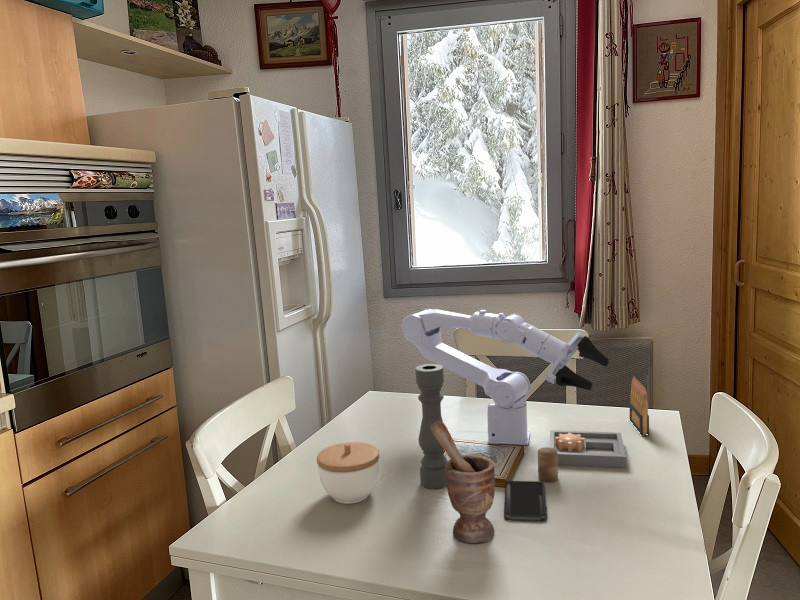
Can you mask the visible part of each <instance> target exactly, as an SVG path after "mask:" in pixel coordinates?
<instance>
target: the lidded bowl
mask: <svg viewBox="0 0 800 600" xmlns="http://www.w3.org/2000/svg"><path fill="white" fill-rule="evenodd" d="M379 459H380V450H379V449H378V447H377V446H375V445H373V444H370V443H367V442H360V441H352V442H351V441H349V442H341V443H337V444H333V445H332V444H331V445H329V446H327V447H325V448H323V449H321V450H320V451H319V452H318V453H317V455H316V463H317V468H318V469H317V470H318V476H319V480H320V483H321V485H322V488H323V490H324V491H325V493H327V494H328V495H329V496H330V497H331V498H333V500H334V501H335V502H337V503H338V504H343V505H352V504H357V503H361V502H363V501H365V500H366V499H367V498H368V497H369V496H370V493H371V492H372V491H373V490H374V489H375V487H376V485H377V483H378V480H379V475H380V460H379Z"/></svg>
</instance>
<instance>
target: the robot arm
mask: <svg viewBox="0 0 800 600" xmlns="http://www.w3.org/2000/svg"><path fill="white" fill-rule="evenodd" d="M441 327H443V328H454V329H465V330H469V331H470V332H471V334H472V335H474V336H479V337H486V338H491V339H500V340H501V343H503V344H507V345H508V344H515V345H516V346H518V347H519V348H521V349H523V350H525V351H526V352H529V353H530V354H533V355H535V356H536V357H539V358H540V359H542V360H544V361H545V362H548V363H550V364H551V365H552V366H551V368H550V369H549V371H548V372H547V374H546V375H545V380H546V381H547V382H549V383H550V384H552V385H554V384H555V383H556V385H558V386H560V387H563V386H565V387H575V388H579V389H583V390H587V391H591V390H592V388H593V382H591V381H590V380H588V379H586V378H584V377H582V376H580V375H579V374H577V373H576V372H574V371H573V370H572V369H571V368H570V367H568V366H567V365H568V364H569V362H570V361H571V359H572V358H573V356H574V355H575V354H576V352H577V351H578V352H579V353H578V356H579V357H581V358H585V359H588V360H591V361H594V362H595V363H597V364H599V365H601V366H603V367H608V365H609V362H610V358H608V357H607V356H605V354H603V352H601V351H600V350H599V349H598V348H597V347H596V346H595V344H594V343H593V342H592V341H591V339H590V338H589V337H588V336H587V335H586V334H585V333H582V332H580V331H578V332H577V333H576V334H575V335H574V337H572V338H571V339H570V340H569V342H565V341H562V340H561V339H559V338H557V337H555V336H553V335H551V334H549V333H547V332H545V331H543V330H541V329H540V328H537V327H536V326H534V325H532V324H529V323H527V320H526V319H525V318H524V317H523V316H522V315H520V314H517V313H511V314H509V315H507V316H506V315H505V313H503V312H499V313H490V312H489V313H488V312H487V310H486V309H480V310H478V311H475V312H474V313H473V314H472V315H468V314H465V313H464V314H463V313H458V312H453V311H448V310H442V309H439V308H435V309H432V308H425V309H424V310H422V311H418V312H415V313H412V314H407V315H406V316H404V317H403V319H402V322H401V330H402V332H403V333H402V334H403V336H404V339H405V340H406V341H408V342H410V343H412V345H414V347H415V348H416V349H417V351H419V353H421V355H422V356H423V358H425V359H426V360H429V361H431V362H433V364H439V365H442V366H443V369H444V368H445V369H446V370H448V371H450V372H452V373H455V374H457V375H458V376H460V377H462V378H464V379H466V380H468V381H470V382H473V384H475V385H478V386H480V387H482V388H483V390H484V394H485V395H486V396H487V397H490V398H491V399H492V400H493V402H489V403H488V405H487V438H488V440H487V443H488V444H491V445H492V444H493V445H494V444H496V445H519V446H520V445H521V446H523V445H524V446H527V445H529V443H530V436H531V435H530V434H531V431H529V430H528V411H527V410H528V409H527V408H528V407H527V406H528V405H527V404H528V403H527V395H528V394H529V393H530V390H531V383H530V382H531V381H530V380H529V378H528V376H526V374H525V373H523V372H520V371H511V370H508V369H506V368H495V367H493V366H491V365H488V364H486V363H484V362H482V361H480V360H478V359H476V358H474V357H473V356H471V355H468V354H465V353H464V352H461V351H460V350H458V349H456V348H453V347H452V346H450V345H447V344H446V343H444V342H443V341H442V328H441Z"/></svg>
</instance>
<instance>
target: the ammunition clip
mask: <svg viewBox="0 0 800 600" xmlns="http://www.w3.org/2000/svg"><path fill="white" fill-rule="evenodd" d="M649 415H650V414H649V404H648V393H647V389H646V387H645V386H644V385H643V384H642V382H640V381H639V380H638V379H637V378H636V377H635V375H633V377H632V379H631V390H630V401H629V418H628V419H630V421H631V422H632V423H633V425H634V426H635V427H636V428H637V430H638V431H639V432H640V434H641V435H646V434H648V435H649V436H650V416H649ZM630 421H629V422H630ZM631 422H630V423H631ZM633 425H632V426H633ZM634 426H633V427H634ZM637 430H636V431H637ZM640 434H639V435H640Z"/></svg>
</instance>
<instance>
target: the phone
mask: <svg viewBox="0 0 800 600" xmlns="http://www.w3.org/2000/svg"><path fill="white" fill-rule="evenodd" d="M506 482H507V483H506ZM506 482H505V484H504V485H505V487H504V489H505V490H504V506H503V507H504V508H503V509H504V510H503V518H504V520H506V521H509V520H511V521H513V522H514V521H515V522H536V523H537V522H538V523H540V522H541V523H542V522H546V521H547V520H548V508H547V507H548V506H547V501H546V499H547V498H546V488H545V487H546V486H545V482H542V481H539V480H538V481H535V480H534V481H533V480H532V481H529V480H507V481H506ZM511 521H510V522H511Z"/></svg>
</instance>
